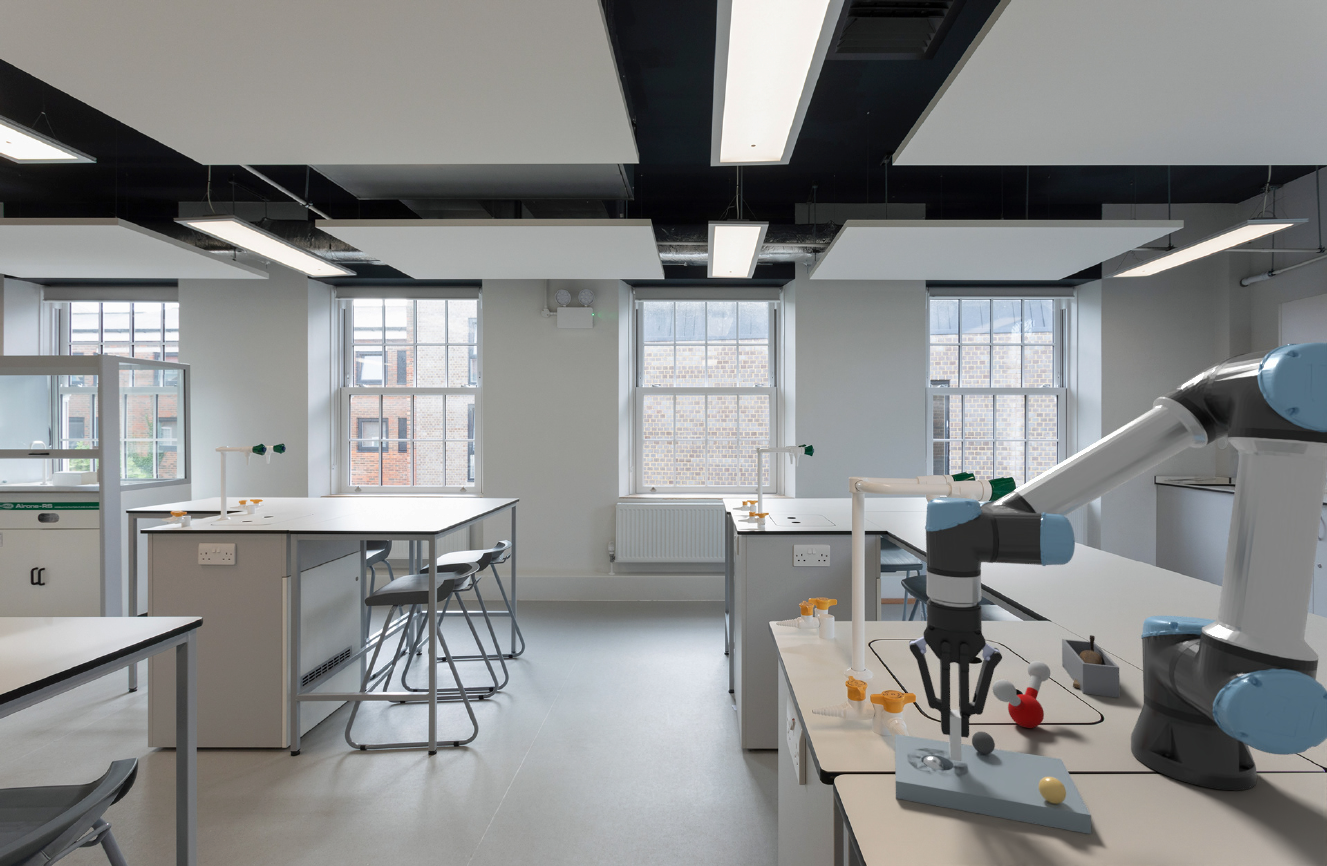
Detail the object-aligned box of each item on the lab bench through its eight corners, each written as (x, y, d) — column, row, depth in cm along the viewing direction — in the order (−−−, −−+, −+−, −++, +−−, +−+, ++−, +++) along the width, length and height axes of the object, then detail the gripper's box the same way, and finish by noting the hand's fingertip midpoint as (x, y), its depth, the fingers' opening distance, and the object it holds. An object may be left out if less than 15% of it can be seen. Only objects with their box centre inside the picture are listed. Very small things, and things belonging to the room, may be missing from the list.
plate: (1061, 775, 95) (1061, 758, 95) (1091, 834, 81) (1090, 815, 81) (895, 748, 103) (895, 733, 103) (895, 798, 89) (895, 780, 89)
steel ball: (931, 747, 96) (916, 760, 97) (933, 757, 93) (917, 770, 94) (947, 764, 95) (932, 777, 96) (950, 775, 92) (934, 788, 93)
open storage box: (1094, 668, 138) (1094, 642, 138) (1119, 697, 123) (1119, 667, 123) (1062, 665, 140) (1062, 639, 140) (1083, 693, 125) (1082, 663, 125)
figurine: (1080, 666, 138) (1081, 628, 138) (1105, 672, 136) (1105, 633, 135) (1072, 687, 128) (1073, 645, 127) (1099, 693, 125) (1100, 650, 125)
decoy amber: (1063, 797, 85) (1062, 774, 85) (1069, 810, 82) (1068, 786, 82) (1036, 793, 86) (1036, 770, 86) (1041, 806, 83) (1041, 782, 83)
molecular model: (1022, 706, 119) (1022, 654, 119) (1057, 716, 115) (1057, 662, 115) (989, 736, 107) (989, 679, 107) (1027, 749, 103) (1026, 689, 103)
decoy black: (993, 749, 98) (993, 729, 98) (996, 759, 95) (996, 738, 95) (970, 746, 99) (970, 726, 99) (973, 756, 96) (973, 735, 96)
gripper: (997, 597, 95) (999, 751, 94) (906, 591, 99) (908, 737, 99) (1006, 610, 88) (1008, 776, 87) (908, 602, 92) (909, 760, 92)
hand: (955, 756), depth 93 cm, fingers closed
